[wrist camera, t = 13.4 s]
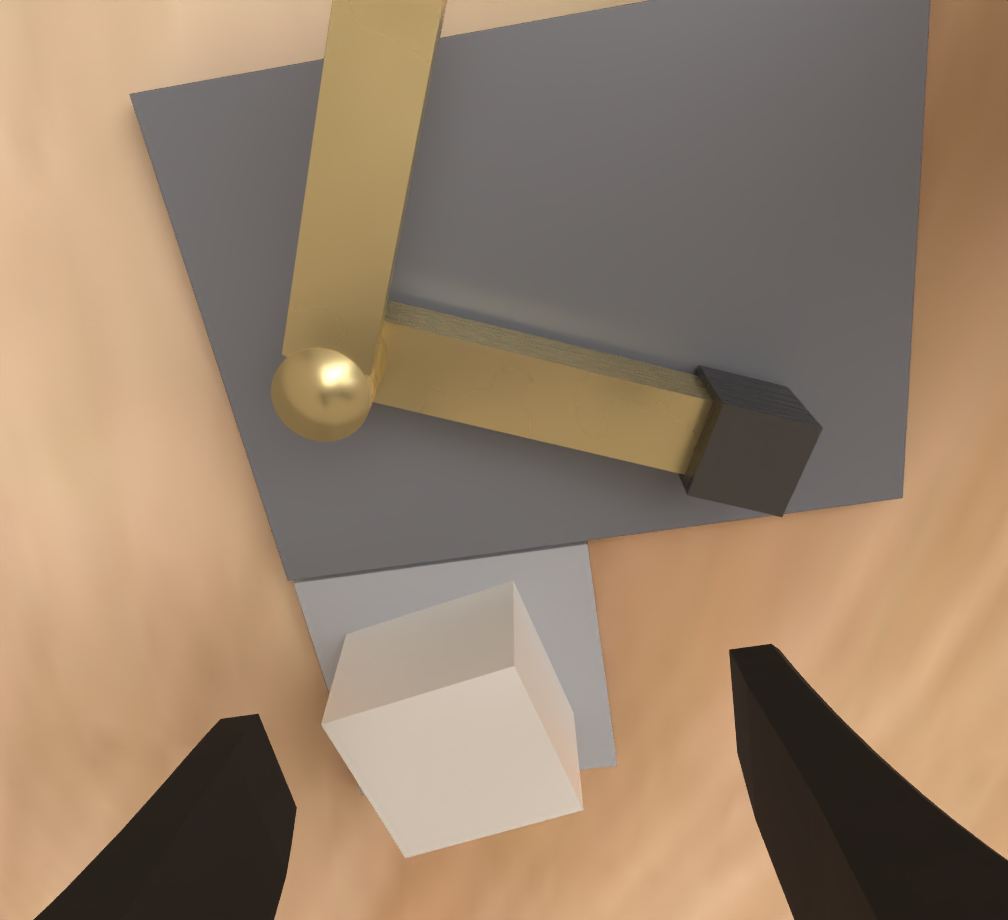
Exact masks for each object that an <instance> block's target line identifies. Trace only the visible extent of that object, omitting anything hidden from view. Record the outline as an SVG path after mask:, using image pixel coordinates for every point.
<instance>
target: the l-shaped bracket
mask: <svg viewBox="0 0 1008 920" xmlns="http://www.w3.org/2000/svg"><path fill="white" fill-rule="evenodd" d="M446 3H447V0H333V1H332V8H331V15H330V22H329V29H328V36H327V43H326V50H325V57H324V64H323V71H322V78H321V85H320V92H319V99H318V106H317V113H316V120H315V127H314V134H313V141H312V148H311V155H310V162H309V169H308V176H307V183H306V190H305V197H304V204H303V211H302V218H301V225H300V232H299V239H298V246H297V253H296V260H295V267H294V274H293V281H292V288H291V295H290V302H289V308H288V315H287V322H286V329H285V336H284V343H283V350H282V355H284V356H287V357H286V358H285V359H284V361H283V362H282V363H281V365H280V366H279V367H278V369H277V370H276V372H275V374H274V377H273V379H272V384H271V398H272V403H273V406H274V409H275V411H276V413H277V415H278V416H279V418H280V419H281V420H282V422H283V423H284V424H285V425H286V426H287V427H288V428H289V429H290V430H292V431H293V432H295V433H296V434H298V435H300V436H302V437H304V438H307V439H310V440H313V441H319V442H331V441H337V440H341V439H344V438H346V437H348V436H350V435H351V434H353V433H354V432H355V431H357V430H358V429H359V428H360V427H361V425H362V424H363V423H364V421H365V419H366V417H367V415H368V413H369V410H370V408H371V405H372V402H375V403H379V404H384V405H388V406H392V407H396V408H401V409H405V410H409V411H414V412H418V413H422V414H426V415H431V416H435V417H439V418H444V419H448V420H452V421H456V422H461V423H465V424H469V425H474V426H478V427H482V428H486V429H491V430H495V431H499V432H504V433H508V434H512V435H516V436H521V437H525V438H529V439H534V440H538V441H542V442H546V443H551V444H555V445H559V446H564V447H568V448H572V449H577V450H581V451H585V452H589V453H594V454H598V455H602V456H607V457H611V458H615V459H619V460H624V461H628V462H632V463H637V464H641V465H645V466H649V467H654V468H658V469H662V470H667V471H671V472H675V473H678V474H679V477H680V479H681V481H682V484H683V486H684V489H685V491H686V494H687V495H688V496H692V497H697V498H701V499H706V500H710V501H714V502H719V503H723V504H727V505H732V506H736V507H740V508H745V509H749V510H753V511H758V512H762V513H766V514H771V515H775V516H779V517H782V516H783V514H784V512H785V510H786V508H787V505H788V503H789V501H790V499H791V497H792V495H793V492H794V490H795V488H796V486H797V484H798V482H799V479H800V477H801V475H802V473H803V471H804V468H805V466H806V464H807V462H808V460H809V458H810V455H811V453H812V451H813V449H814V447H815V445H816V442H817V440H818V438H819V436H820V434H821V431H822V429H823V427H822V426H821V425H820V424H819V423H818V422H817V420H816V419H815V418H814V417H813V416H812V414H811V413H810V412H809V411H808V410H807V409H806V407H805V406H804V405H803V404H802V403H801V402H800V400H799V399H798V398H797V397H796V396H795V395H794V393H793V392H792V391H791V390H790V389H789V388H788V387H786V386H782V385H778V384H774V383H770V382H766V381H762V380H758V379H754V378H750V377H746V376H742V375H738V374H734V373H730V372H726V371H722V370H718V369H714V368H710V367H705V366H701V365H699V367H698V369H697V372H696V375H693V374H689V373H685V372H680V371H676V370H672V369H668V368H664V367H660V366H656V365H652V364H648V363H644V362H640V361H636V360H632V359H628V358H624V357H620V356H616V355H612V354H608V353H603V352H599V351H595V350H591V349H587V348H583V347H579V346H575V345H571V344H567V343H563V342H559V341H555V340H551V339H547V338H543V337H539V336H535V335H531V334H526V333H522V332H518V331H514V330H510V329H506V328H502V327H498V326H494V325H490V324H486V323H482V322H478V321H474V320H470V319H466V318H462V317H458V316H454V315H449V314H445V313H441V312H437V311H433V310H429V309H425V308H421V307H417V306H413V305H409V304H405V303H401V302H397V301H393V300H390V302H389V304H388V299H389V294H390V289H391V284H392V279H393V273H394V268H395V263H396V258H397V253H398V248H399V243H400V238H401V233H402V228H403V222H404V217H405V212H406V207H407V202H408V197H409V192H410V187H411V182H412V176H413V171H414V166H415V161H416V156H417V151H418V146H419V141H420V136H421V131H422V125H423V120H424V115H425V110H426V105H427V100H428V95H429V90H430V85H431V79H432V74H433V69H434V64H435V59H436V54H437V49H438V44H439V39H440V34H441V28H442V23H443V18H444V13H445V8H446ZM387 304H388V305H387Z"/></svg>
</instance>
